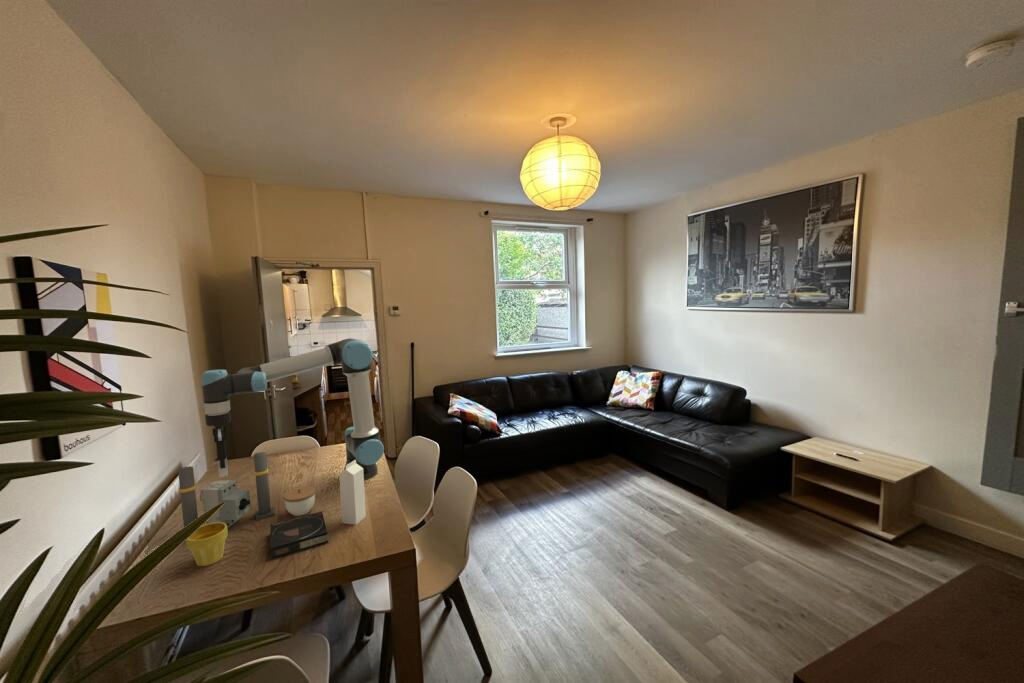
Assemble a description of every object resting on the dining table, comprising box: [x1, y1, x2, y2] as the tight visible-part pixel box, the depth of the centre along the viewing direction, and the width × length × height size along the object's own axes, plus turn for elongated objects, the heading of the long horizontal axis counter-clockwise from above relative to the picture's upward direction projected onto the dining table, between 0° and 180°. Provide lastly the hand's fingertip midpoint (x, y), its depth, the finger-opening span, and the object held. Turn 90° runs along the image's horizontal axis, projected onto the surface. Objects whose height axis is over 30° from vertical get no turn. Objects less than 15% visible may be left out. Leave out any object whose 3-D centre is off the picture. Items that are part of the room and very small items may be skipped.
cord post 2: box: [253, 451, 276, 521], centre depth 153 cm, size 6×6×24 cm
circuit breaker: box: [199, 480, 252, 529], centre depth 147 cm, size 8×14×15 cm, turn 89°
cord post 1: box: [177, 466, 199, 528], centre depth 140 cm, size 6×6×24 cm
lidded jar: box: [283, 486, 316, 517], centre depth 155 cm, size 11×11×9 cm
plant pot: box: [185, 522, 229, 567], centre depth 127 cm, size 10×10×10 cm
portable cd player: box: [269, 511, 329, 560], centre depth 138 cm, size 16×17×4 cm
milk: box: [338, 460, 367, 526], centre depth 148 cm, size 6×6×22 cm
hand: (223, 475), depth 148 cm, fingers closed
